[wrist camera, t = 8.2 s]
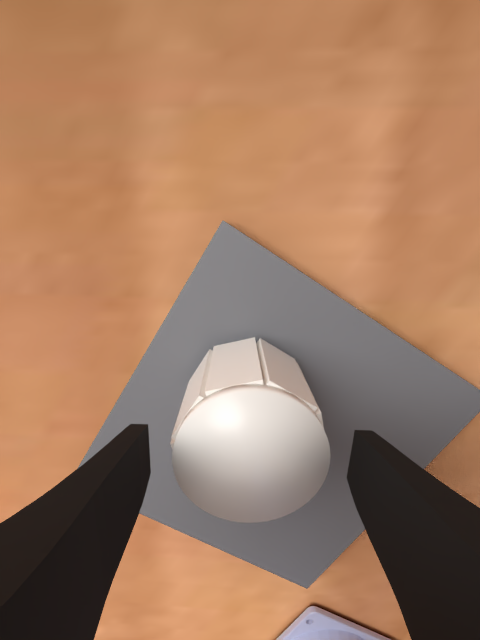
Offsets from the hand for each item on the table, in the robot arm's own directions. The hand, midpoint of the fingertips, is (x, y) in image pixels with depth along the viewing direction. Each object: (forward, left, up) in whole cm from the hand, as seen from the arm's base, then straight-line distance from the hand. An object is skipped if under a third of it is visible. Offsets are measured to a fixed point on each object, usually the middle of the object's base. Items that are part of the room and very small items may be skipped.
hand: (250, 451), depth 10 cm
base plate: (-2, -3, -6) cm, 7 cm away
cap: (0, 0, -4) cm, 4 cm away
